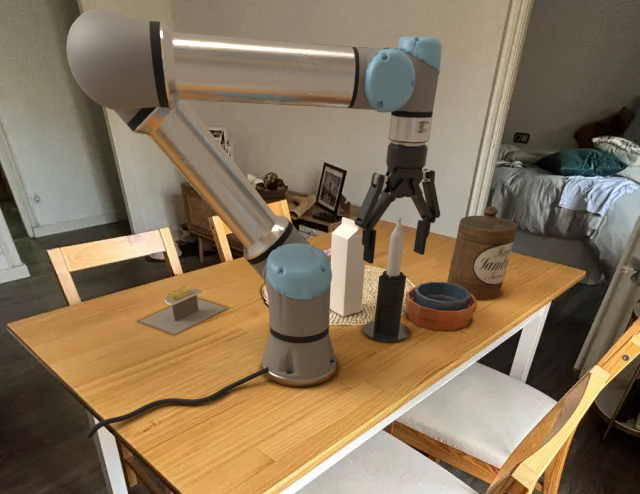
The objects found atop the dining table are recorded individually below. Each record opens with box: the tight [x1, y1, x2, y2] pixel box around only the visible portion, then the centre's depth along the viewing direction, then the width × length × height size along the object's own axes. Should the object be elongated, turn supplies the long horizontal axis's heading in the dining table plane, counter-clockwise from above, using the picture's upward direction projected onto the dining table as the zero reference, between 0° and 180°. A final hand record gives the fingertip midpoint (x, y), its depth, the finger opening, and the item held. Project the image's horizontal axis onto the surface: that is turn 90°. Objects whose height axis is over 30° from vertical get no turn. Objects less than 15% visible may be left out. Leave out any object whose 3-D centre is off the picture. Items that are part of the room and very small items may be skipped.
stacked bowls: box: [404, 281, 478, 331], centre depth 119 cm, size 17×17×6 cm
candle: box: [374, 217, 407, 335], centre depth 105 cm, size 5×5×25 cm
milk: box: [330, 216, 366, 318], centre depth 116 cm, size 6×6×22 cm
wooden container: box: [446, 205, 518, 301], centre depth 129 cm, size 15×15×22 cm
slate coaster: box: [362, 319, 411, 344], centre depth 113 cm, size 11×11×1 cm
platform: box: [139, 284, 227, 335], centre depth 116 cm, size 12×18×7 cm, turn 147°
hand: (394, 257), depth 103 cm, fingers open, 13 cm apart
